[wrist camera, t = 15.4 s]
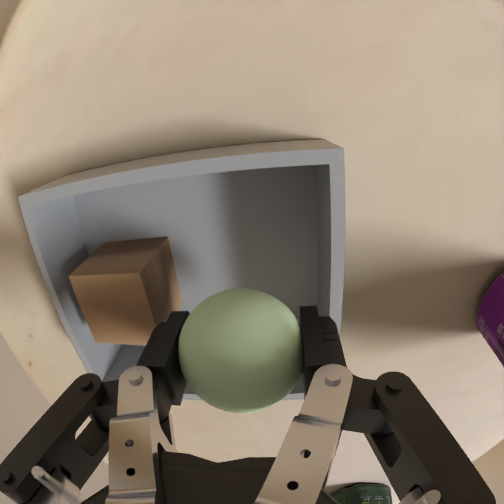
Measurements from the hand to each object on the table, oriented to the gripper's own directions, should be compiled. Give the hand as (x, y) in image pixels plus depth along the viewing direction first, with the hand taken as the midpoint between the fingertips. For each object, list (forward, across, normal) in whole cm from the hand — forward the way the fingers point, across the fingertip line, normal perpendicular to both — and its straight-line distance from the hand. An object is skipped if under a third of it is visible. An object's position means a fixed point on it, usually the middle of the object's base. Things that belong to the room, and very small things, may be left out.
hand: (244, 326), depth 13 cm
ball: (+1, 0, 0) cm, 1 cm away
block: (+6, +7, 0) cm, 9 cm away
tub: (+6, +4, 0) cm, 7 cm away
